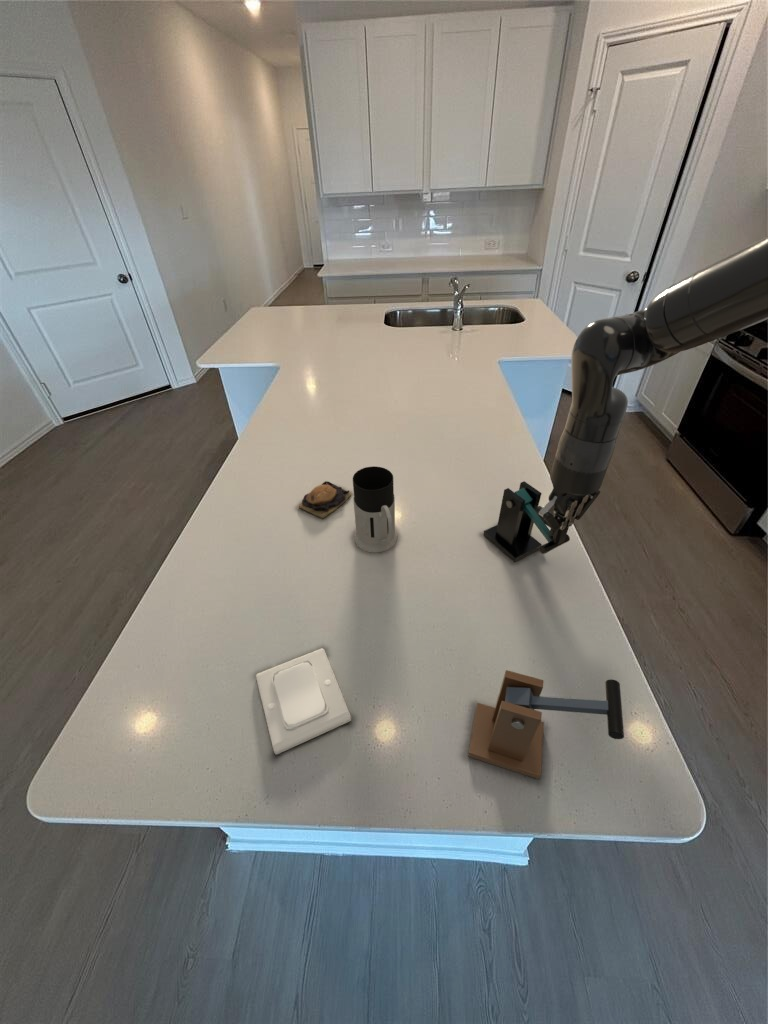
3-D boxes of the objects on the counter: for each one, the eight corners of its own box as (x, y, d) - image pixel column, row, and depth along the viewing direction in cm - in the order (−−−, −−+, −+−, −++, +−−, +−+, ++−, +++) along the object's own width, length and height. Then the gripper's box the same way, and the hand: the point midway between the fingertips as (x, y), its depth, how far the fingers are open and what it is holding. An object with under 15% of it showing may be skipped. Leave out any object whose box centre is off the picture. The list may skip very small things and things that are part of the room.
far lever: (565, 543, 79) (572, 537, 77) (541, 556, 77) (548, 550, 75) (525, 491, 84) (531, 484, 82) (501, 501, 81) (507, 495, 79)
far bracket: (540, 548, 86) (555, 497, 78) (514, 562, 84) (526, 511, 76) (508, 523, 92) (519, 473, 84) (483, 535, 90) (491, 485, 82)
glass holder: (389, 519, 94) (387, 460, 85) (413, 565, 84) (414, 504, 74) (349, 528, 92) (343, 469, 83) (369, 576, 82) (365, 516, 72)
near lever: (621, 689, 49) (618, 677, 48) (625, 742, 45) (622, 730, 44) (513, 683, 55) (508, 672, 54) (508, 730, 51) (502, 719, 50)
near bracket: (541, 726, 60) (564, 677, 52) (538, 779, 55) (563, 735, 47) (476, 706, 63) (487, 657, 55) (467, 756, 58) (479, 710, 49)
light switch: (320, 636, 68) (349, 707, 59) (324, 652, 71) (352, 722, 61) (251, 663, 65) (269, 742, 56) (257, 679, 68) (276, 757, 58)
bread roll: (324, 521, 94) (322, 508, 92) (295, 507, 98) (293, 494, 96) (354, 495, 101) (353, 482, 99) (326, 483, 105) (325, 470, 102)
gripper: (571, 483, 61) (544, 568, 72) (633, 455, 66) (599, 539, 77) (531, 458, 66) (512, 541, 77) (591, 433, 71) (565, 515, 82)
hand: (556, 540), depth 77 cm, fingers closed
